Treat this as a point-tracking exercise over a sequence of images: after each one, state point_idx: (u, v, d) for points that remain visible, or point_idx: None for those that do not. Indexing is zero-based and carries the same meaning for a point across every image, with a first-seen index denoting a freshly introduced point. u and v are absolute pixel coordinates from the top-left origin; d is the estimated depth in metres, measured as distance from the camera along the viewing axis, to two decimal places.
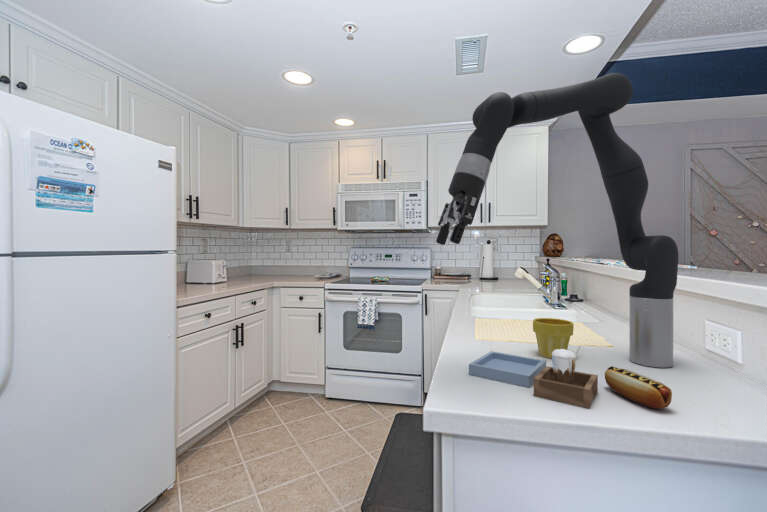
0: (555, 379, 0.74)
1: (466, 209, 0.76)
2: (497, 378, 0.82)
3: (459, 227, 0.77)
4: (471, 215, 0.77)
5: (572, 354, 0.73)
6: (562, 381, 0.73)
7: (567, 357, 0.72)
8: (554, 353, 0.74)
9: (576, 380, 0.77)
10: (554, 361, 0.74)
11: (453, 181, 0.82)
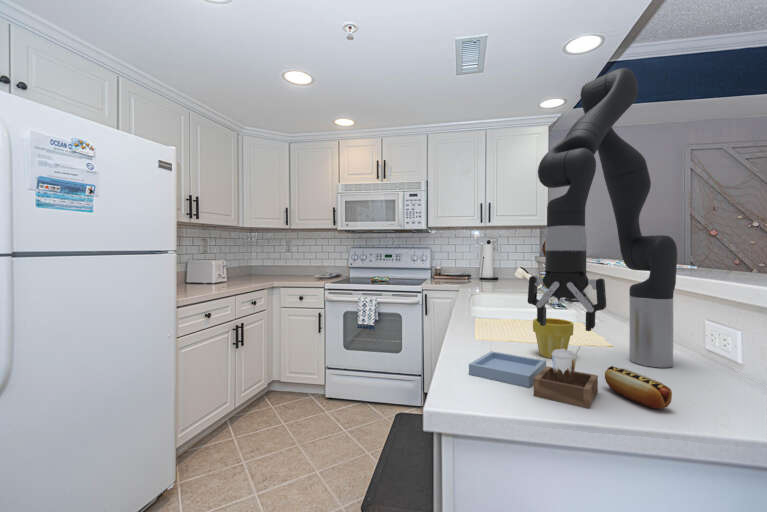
0: (555, 379, 0.74)
1: (604, 296, 0.69)
2: (497, 378, 0.82)
3: (594, 314, 0.71)
4: None
5: (572, 354, 0.73)
6: (562, 381, 0.73)
7: (566, 357, 0.72)
8: (554, 353, 0.74)
9: (576, 380, 0.77)
10: (554, 361, 0.74)
11: (565, 261, 0.71)
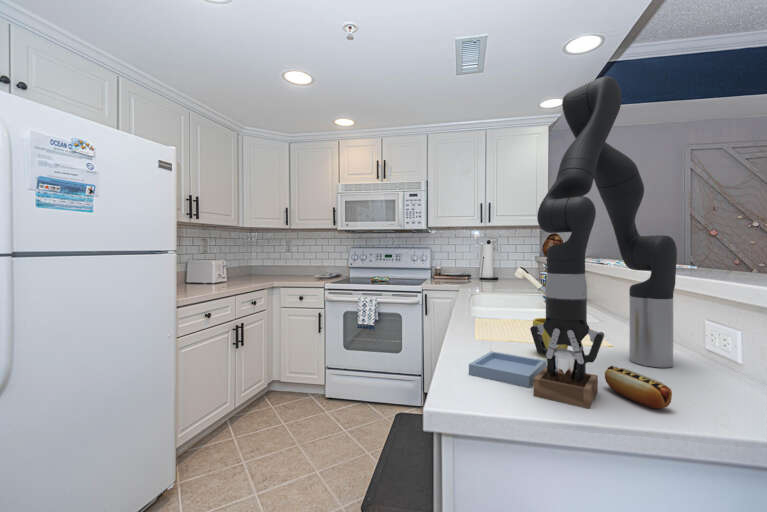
0: (556, 378, 0.74)
1: (597, 351, 0.70)
2: (497, 378, 0.82)
3: None
4: None
5: (574, 354, 0.72)
6: (563, 381, 0.73)
7: (569, 357, 0.72)
8: (556, 353, 0.74)
9: None
10: (556, 361, 0.74)
11: (565, 310, 0.71)
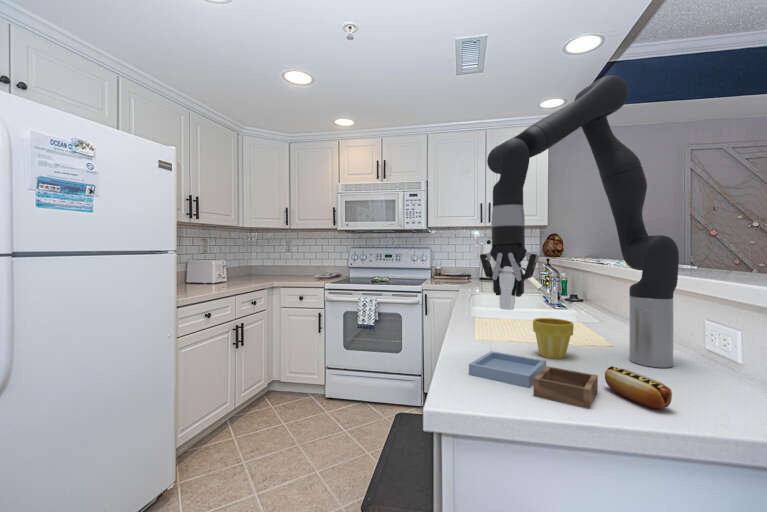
0: (500, 296, 0.87)
1: (532, 268, 0.83)
2: (497, 378, 0.82)
3: (522, 282, 0.85)
4: None
5: (514, 274, 0.86)
6: (505, 296, 0.86)
7: (509, 276, 0.85)
8: (500, 274, 0.87)
9: (576, 380, 0.77)
10: (499, 280, 0.87)
11: (505, 235, 0.84)
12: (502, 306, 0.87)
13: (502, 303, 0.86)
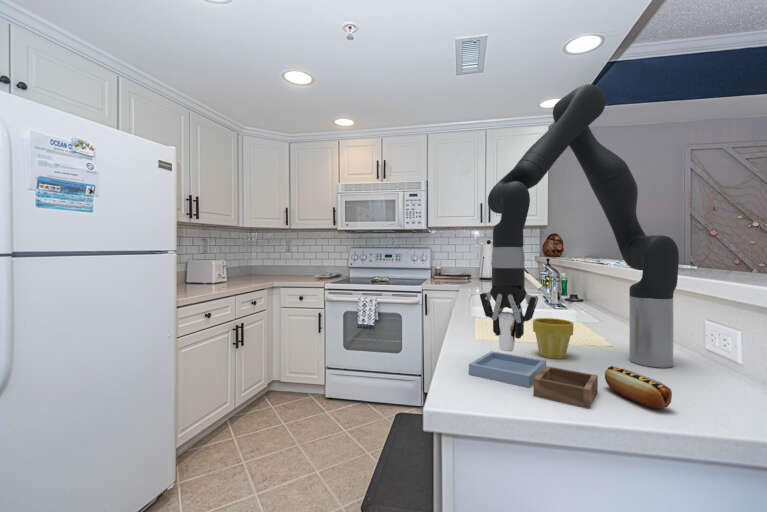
0: (499, 336, 0.87)
1: (531, 311, 0.83)
2: (497, 378, 0.82)
3: (522, 324, 0.85)
4: None
5: None
6: (504, 338, 0.86)
7: (509, 318, 0.85)
8: (499, 314, 0.87)
9: (576, 380, 0.77)
10: (499, 321, 0.87)
11: (505, 277, 0.84)
12: (502, 347, 0.87)
13: (502, 344, 0.87)
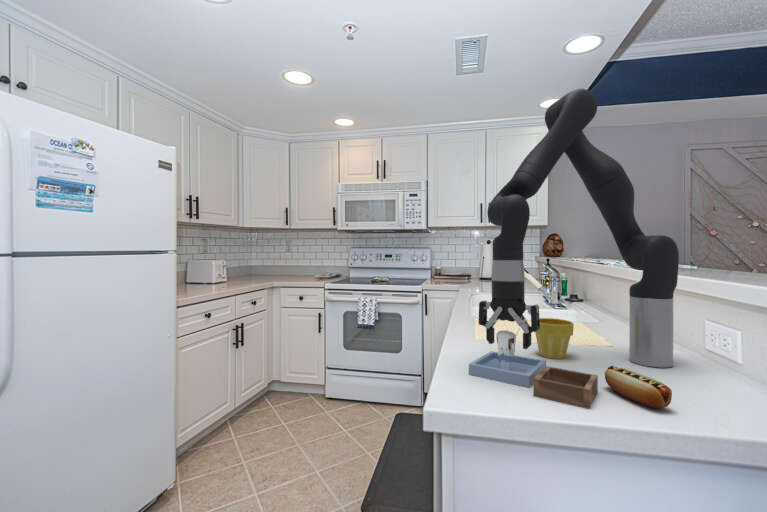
0: (499, 356, 0.88)
1: (536, 320, 0.82)
2: (497, 378, 0.82)
3: (529, 335, 0.84)
4: (536, 321, 0.84)
5: (512, 334, 0.86)
6: (503, 357, 0.86)
7: (506, 337, 0.85)
8: (497, 334, 0.87)
9: (576, 380, 0.77)
10: (497, 340, 0.87)
11: (505, 290, 0.84)
12: (501, 366, 0.87)
13: (501, 363, 0.87)
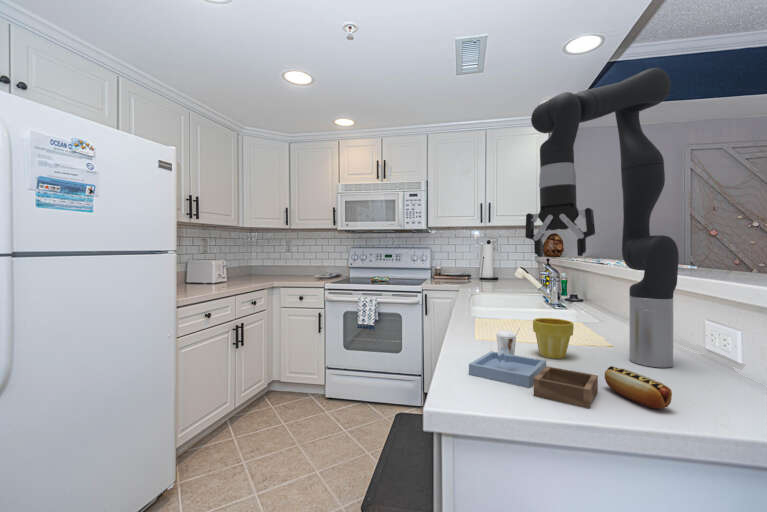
0: (499, 356, 0.88)
1: (592, 223, 0.78)
2: (497, 378, 0.82)
3: (584, 240, 0.79)
4: None
5: (512, 334, 0.86)
6: (503, 357, 0.86)
7: (507, 337, 0.85)
8: (498, 334, 0.87)
9: (576, 380, 0.77)
10: (497, 340, 0.87)
11: (556, 195, 0.80)
12: (501, 366, 0.87)
13: (501, 363, 0.87)
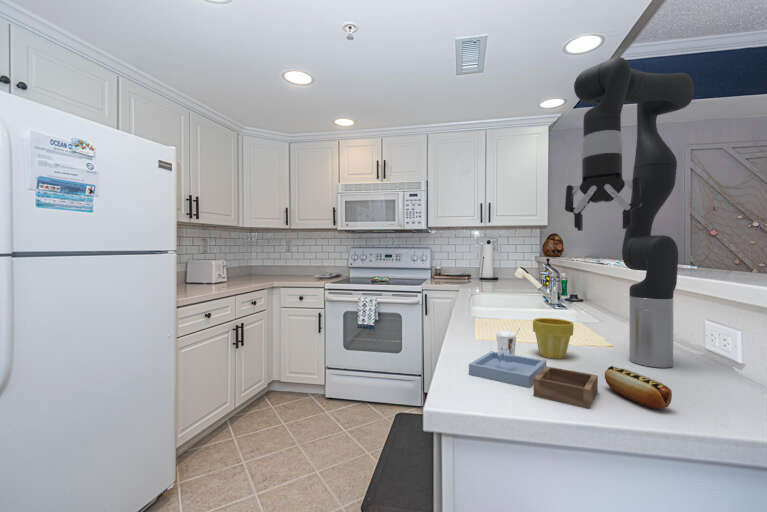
0: (499, 356, 0.88)
1: (640, 193, 0.74)
2: (497, 378, 0.82)
3: (630, 212, 0.76)
4: None
5: (512, 334, 0.86)
6: (503, 357, 0.86)
7: (507, 337, 0.85)
8: (498, 334, 0.87)
9: (576, 380, 0.77)
10: (497, 340, 0.87)
11: (602, 163, 0.76)
12: (501, 366, 0.87)
13: (501, 363, 0.87)
